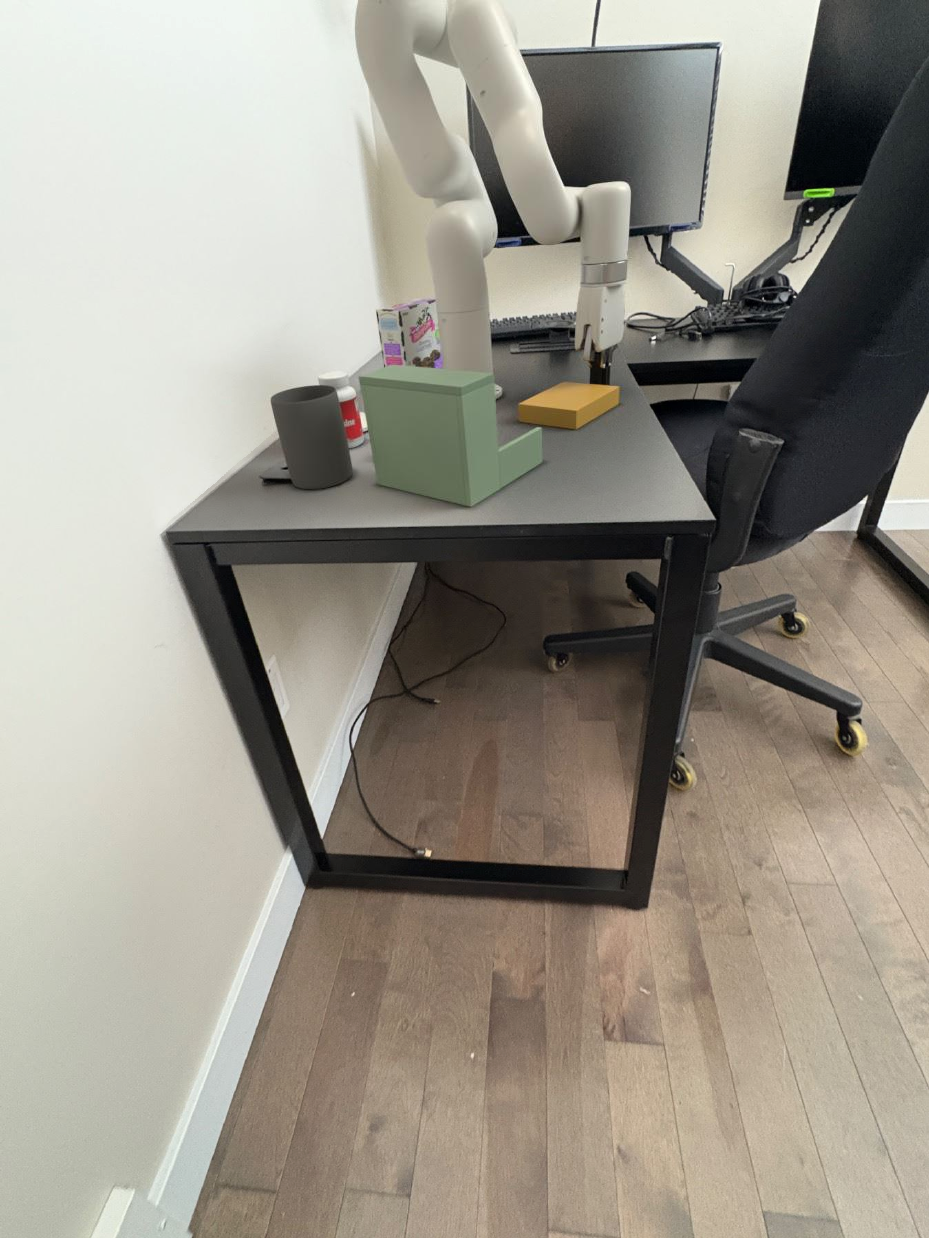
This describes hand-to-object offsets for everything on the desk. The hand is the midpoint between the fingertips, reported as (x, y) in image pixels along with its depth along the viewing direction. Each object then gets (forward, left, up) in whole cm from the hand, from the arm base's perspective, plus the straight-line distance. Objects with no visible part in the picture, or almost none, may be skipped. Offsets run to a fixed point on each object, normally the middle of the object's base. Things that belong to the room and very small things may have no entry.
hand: (599, 389), depth 109 cm
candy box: (-24, -29, -2) cm, 38 cm away
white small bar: (-9, -45, -1) cm, 46 cm away
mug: (+15, -53, -2) cm, 55 cm away
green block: (+25, -33, -1) cm, 41 cm away
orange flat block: (+6, -9, -1) cm, 11 cm away
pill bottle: (+3, -47, -2) cm, 47 cm away
